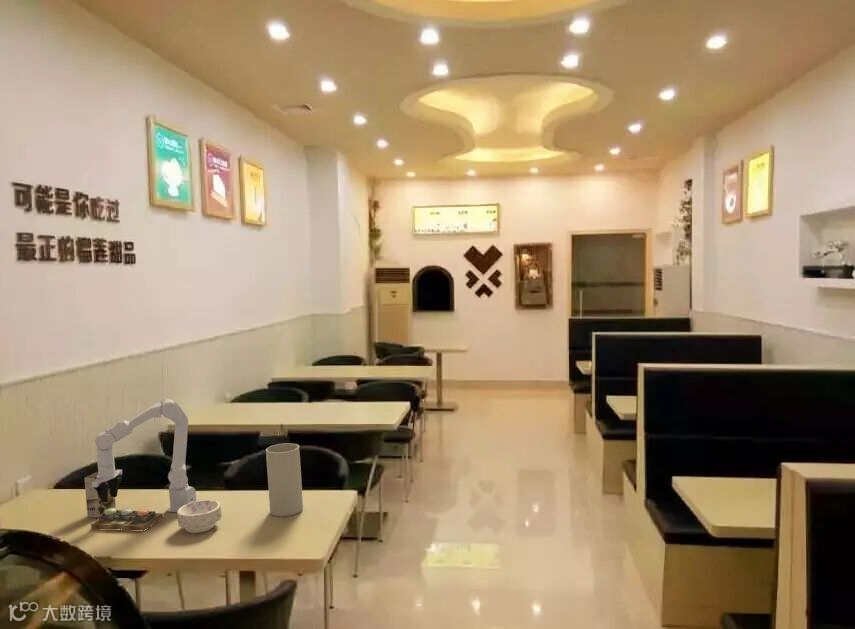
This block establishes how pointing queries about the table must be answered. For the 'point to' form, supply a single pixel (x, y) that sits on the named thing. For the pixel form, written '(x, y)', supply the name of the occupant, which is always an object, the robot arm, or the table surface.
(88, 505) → the coffee box
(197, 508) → the paper bowls
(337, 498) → the table surface
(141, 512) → the terracotta button
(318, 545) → the table surface
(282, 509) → the cylinder vase
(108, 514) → the sage button
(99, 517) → the console
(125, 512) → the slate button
